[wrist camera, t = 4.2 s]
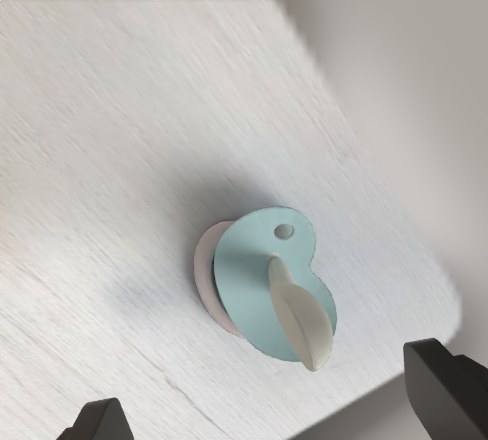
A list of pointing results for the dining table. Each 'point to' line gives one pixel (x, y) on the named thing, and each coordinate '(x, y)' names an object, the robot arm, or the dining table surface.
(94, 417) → the robot arm
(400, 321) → the dining table surface
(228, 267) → the pacifier
